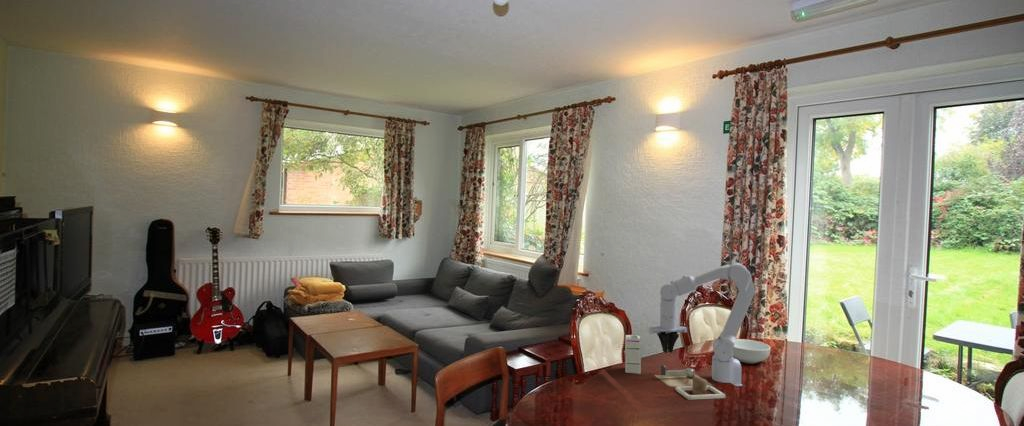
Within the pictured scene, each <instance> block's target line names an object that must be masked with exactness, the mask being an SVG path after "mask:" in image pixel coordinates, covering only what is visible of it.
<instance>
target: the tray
mask: <svg viewBox="0 0 1024 426" xmlns="http://www.w3.org/2000/svg"><path fill="white" fill-rule="evenodd" d="M674 390H675V392H677V393H679V394H680V395H682V396H683V397H684V398H685V399H687V400H692V401H693V400H710V399H711V400H712V399H726V397H727V396H726V394H725V393H724V392H722V391H720V390H719V389H717V388H716V387H714V386H713V385H707V390H709V391H711V392H712V393H710V394H709V393H708V394H706V395H694V394H689V393H687V392H686V391H693V386H676V387H674Z"/></svg>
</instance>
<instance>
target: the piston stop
mask: <svg viewBox="0 0 1024 426" xmlns="http://www.w3.org/2000/svg"><path fill="white" fill-rule="evenodd" d="M707 382H708V380H707V379H706V378H702V377H701V378H693V390H692V395H706V394H707V393H708V391H707Z"/></svg>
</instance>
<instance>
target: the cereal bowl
mask: <svg viewBox="0 0 1024 426" xmlns="http://www.w3.org/2000/svg"><path fill="white" fill-rule="evenodd" d="M733 352H734V354H733V358H734V359H737V360H738V361H739V362H740V363H745V364H757V363H760V362H764V361H765V360H767V359H768V358H769V357H770V355H771V346H770V345H769V344H767V343H764V342H762V341H758V340H752V339H744V338H743V339H741V338H739V339H738V338H737V339H736V340H735V345H734V347H733Z"/></svg>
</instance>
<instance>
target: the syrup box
mask: <svg viewBox="0 0 1024 426" xmlns="http://www.w3.org/2000/svg"><path fill="white" fill-rule="evenodd" d="M641 342H642V340H641V336H640V335H638V334H637V335H636V334H625V337H624V345H625V347H624V359H625V360H624V367H625V369H624V371H625V373H627V374H628V373H629V374H638V375H639V374H640V375H641V372H642V367H641V366H642V365H641V364H642V361H641V360H642V353H641V352H642V347H641V346H642V345H641V344H642V343H641Z"/></svg>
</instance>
